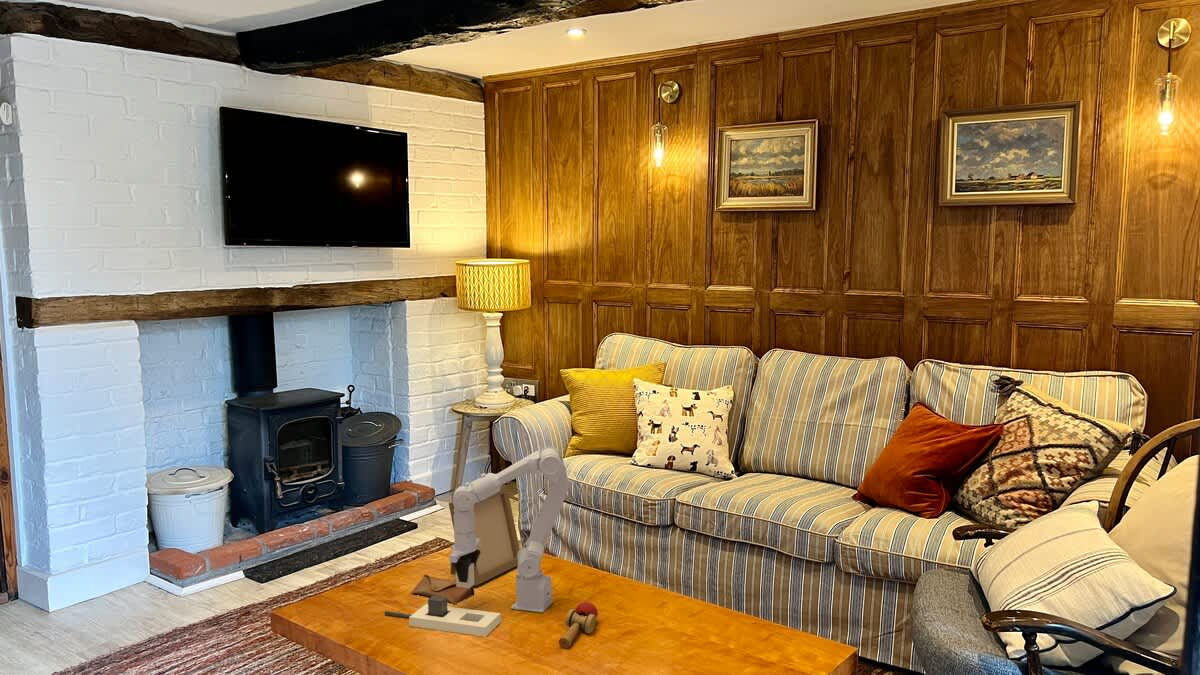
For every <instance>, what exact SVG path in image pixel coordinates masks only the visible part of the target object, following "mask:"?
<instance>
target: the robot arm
mask: <svg viewBox="0 0 1200 675" xmlns="http://www.w3.org/2000/svg"><path fill="white" fill-rule="evenodd" d="M539 472H540V473H541V474H542V475H543V476H544V477H545V478H546V480H547V481H548V482H549V485H550V487H549V489H548V491H547V494H546V497H545V499H544V501H543V504H542V506H541V509H540V510H539V513H538V516H537V517H536V519H535V523H534V525H533V528H532V529H531V532H530V533H529V534H530V535H529V537H528V538H526V540H525V543H524V544H523V546H522V547H519V548H520V550H519V551H518V553H517V560H518V565H517V566H516V567H517V570H516V571H515V589H516V590H515V592H516V593H515V596H516V598H515V599H516V600H515V603H514V604H512V605H511V607H510V609H511V610H512V609H513V610H518V611H527V612H532V613H533V612H534V613H540V614H541V613H544V612H545V611H546V610H547V609H548V608H549V607H550V606H551V605H552V604H553V602H554V600H553V591H552V589H553V588H552V587H553V585H552V584H553V583H552V578H551V576H550V575H546V574H544V573H543V571H542V565H541V561H542V558H543V555H544V550H545V546H546V543H547V541H548V539H549V536H550V535H551V532H552V529H553V527H554V524H555V522H556V520H557V518H558V515H559V513H560V510H561V508H562V506H563V503H564V501H565V499H566V496H567V494H568V491H569V488H570V482H569V479H568V474H567V469H566V465H565V461H564V458H563V457H562V454H561V453H560V452H559V451H558V449H557V448H555V447H553V446H545V447H543V448H542V449H540V450H536V451H534V452H532V453H530V454H528V455H527V456H525V457H524V458H522V459H520V460H518V461H517V462H515V463H513V464H511V465H510V466H508V467H506V468H504V469H503V470H501V471H499V472H498V473H492V472H488V473H486V472H483V473H482V474H480V477H479V478H477V479H475V480H474V481H471V482H469V481H468V482H466V483H464V484H465V485H461V486H459V487H457V488H456V489H455V491H454V493H453V497H452V502H453V505H454V513H455V514H454V528H453V533H454V534H453V535H454V544H452V545H451V546H450V548H451V549H452V552H451V553H450V554H449V556H448V558H449V559H448V561H449V563H451V562H452V564H453V565H454V567H455V569H456V572H457V575H458V579H459V582H465V583H466V582H467V580H468V570H469V565H470V563H474V571H475V566H476V562H477V560H478V557H479V555H480V550H476V549H477V547H478V546H480V545H481V539H478V538H476V532H475V513H474V504H475V503H477V502H480V501H482V500H484V499H486V498H488V497H490V496H492V495H493V494H495V493H497V492H499V491H500V488H501V485H506V483H509V482H511V481H512V480H515V479H517V478H519V477H521V476H523V475H526V474H527V473H528V474H533V475H539Z"/></svg>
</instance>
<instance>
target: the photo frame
mask: <svg viewBox="0 0 1200 675" xmlns="http://www.w3.org/2000/svg"><path fill="white" fill-rule="evenodd" d="M448 508H449V513H450V516H451V517H450V518H451V523H452V526H453V527H452V528H453V529H454V514H455V513H454V505H453V501H451V502H448ZM474 513H475V532H476V538H478V539H481V545H480V546H478V547H477V549H476V550H480V555H479V557H478V560H477V562H476V566H475V571H474V583H475V584H474V585H473V586H472V587H474V586H475V587H476V586H479V585H481V584H483V583H484V582H487V581H488V580H490V579H493V578H494V577H497V576H499V575H500V574H503V573H504V572H507V571H509V570H511V569H513V568H515V567H518V560H517V553H518V551H519V550H520V548H521V547H520V543H519V540H518V539H519V538H518V534H517V529H516V524H515V519H514V514H513V509H512V505H511V500H510V495H509V490H508V486H507V484H503V485H501V488H500V491H499V492H497V493H495V494H493V495H492V496H490V497H488V498H486V499H484V500H482V501H480V502H477V503H475V504H474ZM450 574H456V569H455V567H454V565H453V564H452V562H450Z"/></svg>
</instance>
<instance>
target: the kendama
mask: <svg viewBox="0 0 1200 675" xmlns="http://www.w3.org/2000/svg"><path fill="white" fill-rule="evenodd" d="M598 613H599V612H598V608H597V606H596V605H595V604H594V603H593V602H591V601H582V602H580V603H579V604H578V605H577V606H576V607H575V609H569V611H567V614H566V616H565V621H564V623H565V626H566V627H568V629H567V630H566V631H565V633H564V634H563V635H562V636H561V637H559V639H558V645H559V647H560V648H562V649H569V648H570V647H571V644H572V643H573V640H574V638H575V637H576V635H577V633H578V632H579V629H580V627H581V628H582V629H583V631H584V632H585V633H586V634H589V635H590V634H591V632H592V633H593V631H594V629H595V627H596V621H597V618H598Z"/></svg>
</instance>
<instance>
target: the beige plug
mask: <svg viewBox="0 0 1200 675" xmlns="http://www.w3.org/2000/svg"><path fill="white" fill-rule="evenodd" d="M455 582H456V587H464V588H470V587H474V586H473V585H474V584H475V583H474V563H470V565H469V570H468V580H467V582H466V583H465V582H459V579H458V575H457V572H456V573H455Z"/></svg>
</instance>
